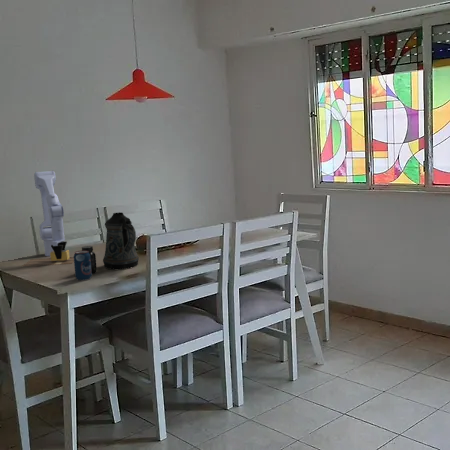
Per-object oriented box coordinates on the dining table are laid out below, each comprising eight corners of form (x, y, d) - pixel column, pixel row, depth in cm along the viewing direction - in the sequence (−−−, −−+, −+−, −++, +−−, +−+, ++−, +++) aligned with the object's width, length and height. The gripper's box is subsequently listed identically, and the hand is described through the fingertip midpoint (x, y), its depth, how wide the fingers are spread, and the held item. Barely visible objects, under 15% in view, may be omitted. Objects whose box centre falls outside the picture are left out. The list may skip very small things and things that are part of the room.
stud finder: (53, 258, 300) (52, 250, 299) (69, 257, 300) (68, 249, 299) (50, 260, 296) (50, 252, 295) (67, 259, 296) (66, 251, 295)
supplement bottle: (78, 274, 273) (76, 248, 271) (87, 270, 279) (84, 245, 277) (91, 275, 270) (89, 248, 268) (100, 271, 276) (97, 245, 274)
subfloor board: (31, 261, 307) (31, 259, 306) (79, 258, 307) (78, 256, 306) (21, 268, 291) (21, 266, 291) (71, 265, 291) (71, 263, 291)
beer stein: (114, 261, 296) (110, 210, 292) (150, 262, 290) (147, 210, 286) (96, 269, 281) (92, 215, 277) (134, 270, 274) (129, 215, 270)
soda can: (85, 281, 259) (83, 253, 257) (72, 280, 262) (69, 253, 260) (95, 277, 265) (93, 250, 264) (82, 276, 268) (79, 249, 266)
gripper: (53, 228, 303) (56, 255, 305) (45, 233, 288) (48, 261, 291) (67, 227, 303) (70, 254, 305) (60, 232, 288) (62, 260, 291)
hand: (60, 257), depth 298 cm, fingers closed on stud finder, 4 cm apart
